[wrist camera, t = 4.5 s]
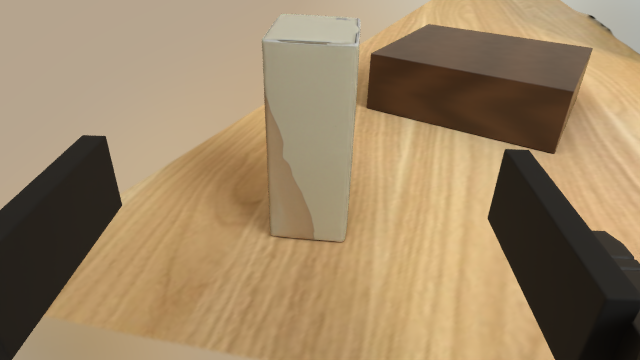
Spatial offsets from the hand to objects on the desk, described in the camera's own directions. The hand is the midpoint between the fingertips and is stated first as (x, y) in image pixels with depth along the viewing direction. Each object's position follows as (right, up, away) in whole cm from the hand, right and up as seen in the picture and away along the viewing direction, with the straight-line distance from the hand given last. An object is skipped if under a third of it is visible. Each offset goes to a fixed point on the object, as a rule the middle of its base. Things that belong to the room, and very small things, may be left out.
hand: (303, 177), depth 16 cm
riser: (+15, +7, +28) cm, 33 cm away
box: (0, -2, +12) cm, 12 cm away
